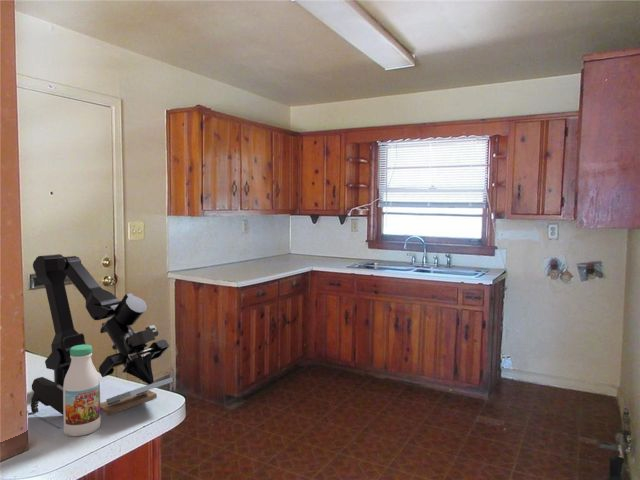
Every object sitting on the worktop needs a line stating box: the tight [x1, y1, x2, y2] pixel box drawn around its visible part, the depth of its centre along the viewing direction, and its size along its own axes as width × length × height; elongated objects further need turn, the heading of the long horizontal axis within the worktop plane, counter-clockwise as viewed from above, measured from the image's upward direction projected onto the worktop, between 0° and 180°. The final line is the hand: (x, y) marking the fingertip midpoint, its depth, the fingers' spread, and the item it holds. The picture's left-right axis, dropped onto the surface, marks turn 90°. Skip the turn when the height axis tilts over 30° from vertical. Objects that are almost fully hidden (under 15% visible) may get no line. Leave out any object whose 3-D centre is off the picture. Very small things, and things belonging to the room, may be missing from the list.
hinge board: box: [100, 390, 157, 416], centre depth 122 cm, size 6×14×1 cm, turn 144°
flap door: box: [105, 377, 174, 405], centre depth 118 cm, size 2×12×13 cm
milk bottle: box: [62, 344, 101, 437], centre depth 106 cm, size 8×8×20 cm
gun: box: [30, 376, 64, 416], centre depth 114 cm, size 3×16×10 cm, turn 79°
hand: (151, 383), depth 117 cm, fingers closed
